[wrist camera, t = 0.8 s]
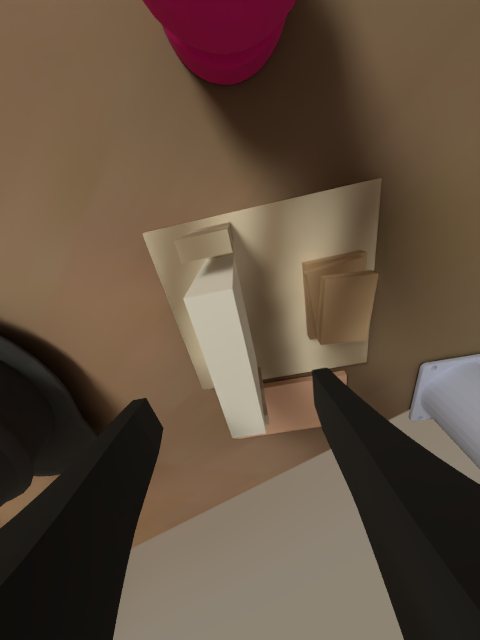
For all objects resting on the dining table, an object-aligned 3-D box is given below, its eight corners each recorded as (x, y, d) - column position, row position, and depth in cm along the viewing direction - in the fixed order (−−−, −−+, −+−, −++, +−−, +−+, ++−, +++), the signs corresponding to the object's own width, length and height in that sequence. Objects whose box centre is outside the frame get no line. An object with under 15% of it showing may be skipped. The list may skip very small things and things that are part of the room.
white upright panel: (233, 254, 15) (232, 288, 8) (256, 358, 19) (266, 433, 13) (205, 260, 15) (183, 298, 9) (233, 362, 19) (232, 438, 13)
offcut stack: (360, 250, 15) (382, 257, 13) (357, 325, 17) (373, 342, 15) (299, 262, 15) (310, 272, 13) (305, 334, 18) (314, 352, 16)
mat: (344, 370, 21) (346, 374, 20) (342, 418, 24) (345, 423, 23) (222, 390, 22) (222, 395, 21) (237, 433, 25) (237, 438, 24)
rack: (372, 179, 14) (459, 162, 8) (360, 355, 20) (406, 408, 15) (147, 231, 15) (98, 245, 10) (204, 381, 21) (193, 440, 16)
